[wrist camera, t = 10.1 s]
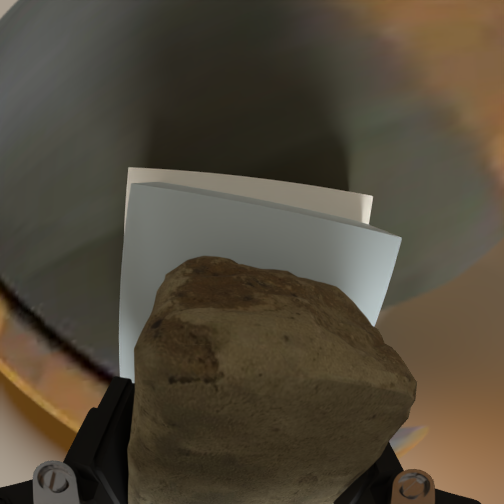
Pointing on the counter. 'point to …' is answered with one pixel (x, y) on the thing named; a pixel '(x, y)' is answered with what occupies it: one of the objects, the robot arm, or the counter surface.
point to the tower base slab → (262, 191)
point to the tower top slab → (242, 248)
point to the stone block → (258, 390)
